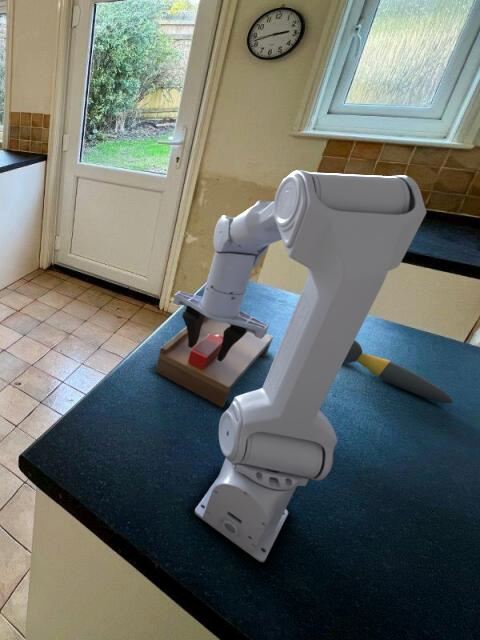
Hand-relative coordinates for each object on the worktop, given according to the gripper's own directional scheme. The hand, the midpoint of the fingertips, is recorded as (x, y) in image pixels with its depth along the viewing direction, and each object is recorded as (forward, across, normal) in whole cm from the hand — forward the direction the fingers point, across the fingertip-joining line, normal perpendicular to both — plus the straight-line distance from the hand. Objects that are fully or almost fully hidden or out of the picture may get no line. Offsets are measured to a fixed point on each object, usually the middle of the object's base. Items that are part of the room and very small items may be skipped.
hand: (206, 351), depth 75 cm
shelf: (+6, 0, -6) cm, 8 cm away
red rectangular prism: (+1, 0, 0) cm, 1 cm away
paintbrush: (+6, -21, -26) cm, 34 cm away
